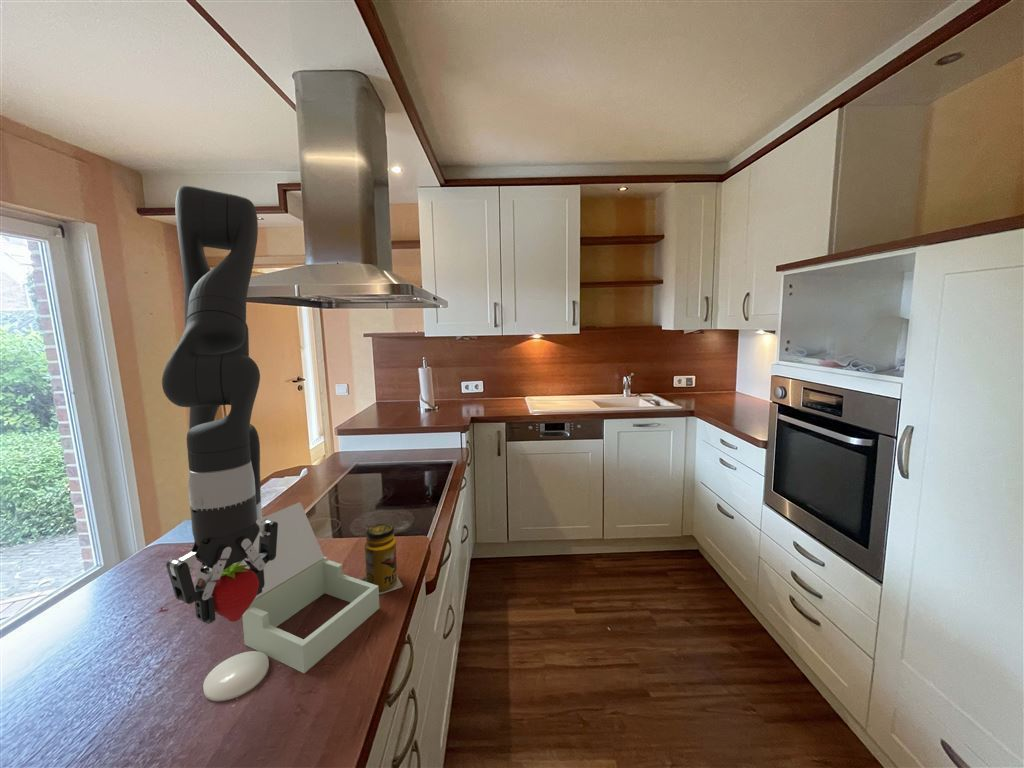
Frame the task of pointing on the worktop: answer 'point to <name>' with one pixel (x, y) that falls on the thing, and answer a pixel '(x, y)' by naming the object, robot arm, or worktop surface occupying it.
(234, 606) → the strawberry
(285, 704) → the worktop surface
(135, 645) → the worktop surface
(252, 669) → the cream white rounded part
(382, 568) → the condiment
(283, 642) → the cold frame
